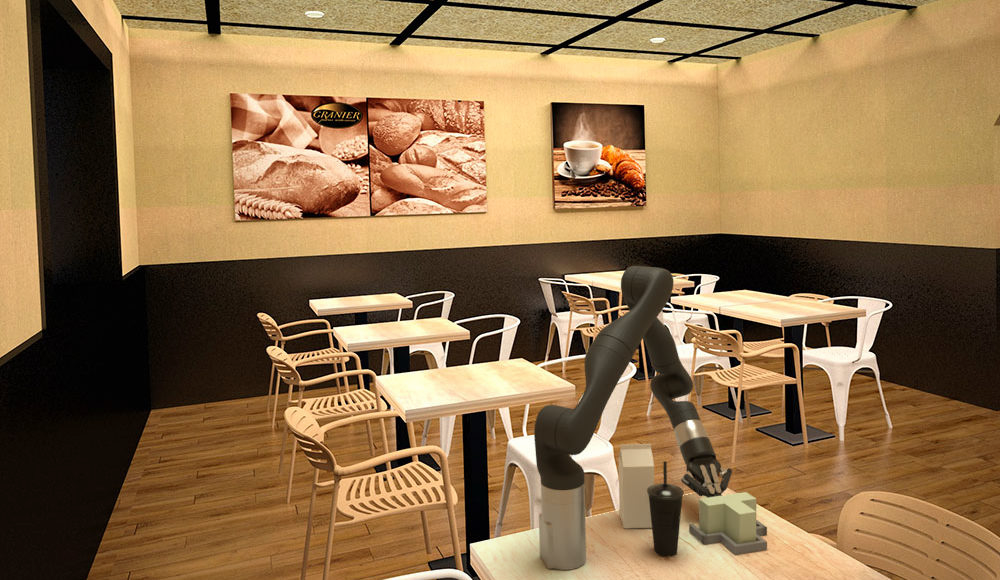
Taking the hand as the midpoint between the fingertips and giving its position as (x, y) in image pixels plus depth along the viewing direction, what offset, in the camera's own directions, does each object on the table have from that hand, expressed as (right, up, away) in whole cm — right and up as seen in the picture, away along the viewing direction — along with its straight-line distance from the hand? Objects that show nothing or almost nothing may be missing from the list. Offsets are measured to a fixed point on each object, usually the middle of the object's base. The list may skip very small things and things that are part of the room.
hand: (720, 511), depth 164 cm
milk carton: (-18, -4, +5) cm, 19 cm away
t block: (+2, -4, -5) cm, 7 cm away
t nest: (+1, -4, -5) cm, 7 cm away
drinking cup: (-15, -6, -10) cm, 19 cm away
